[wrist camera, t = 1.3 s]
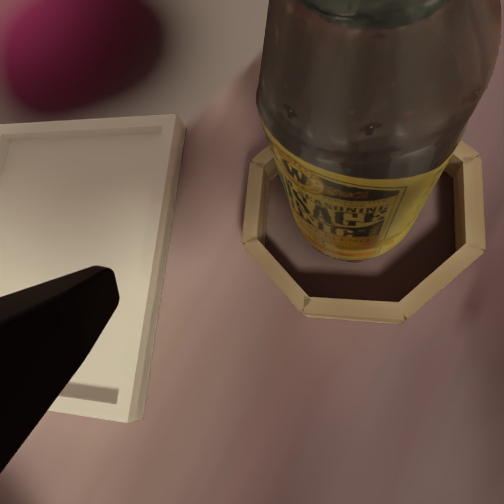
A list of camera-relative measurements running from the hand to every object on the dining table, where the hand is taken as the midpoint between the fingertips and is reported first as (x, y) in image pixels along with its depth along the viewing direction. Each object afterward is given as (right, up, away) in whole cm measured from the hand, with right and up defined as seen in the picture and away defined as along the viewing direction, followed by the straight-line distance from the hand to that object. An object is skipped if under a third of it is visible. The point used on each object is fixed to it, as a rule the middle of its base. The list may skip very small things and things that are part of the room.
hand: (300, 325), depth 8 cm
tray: (-13, +1, +18) cm, 22 cm away
